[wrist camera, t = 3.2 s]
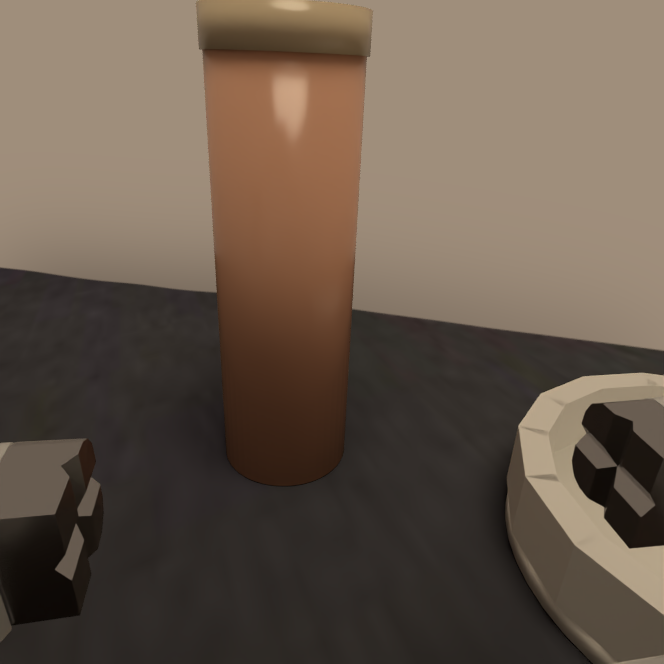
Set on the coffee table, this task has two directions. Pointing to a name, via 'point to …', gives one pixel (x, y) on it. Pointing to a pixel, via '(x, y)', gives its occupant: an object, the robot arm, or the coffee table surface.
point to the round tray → (582, 530)
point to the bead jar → (284, 223)
